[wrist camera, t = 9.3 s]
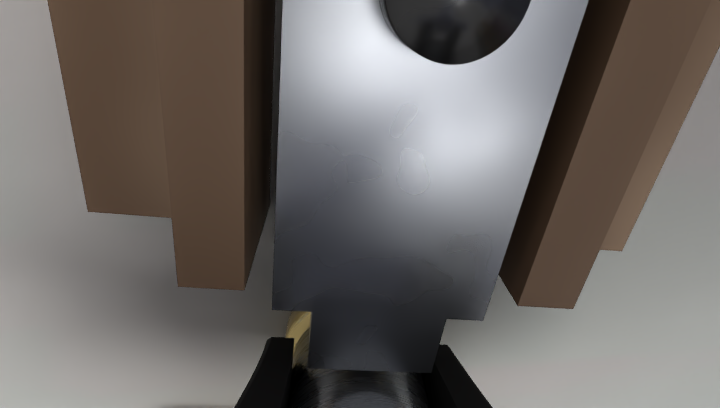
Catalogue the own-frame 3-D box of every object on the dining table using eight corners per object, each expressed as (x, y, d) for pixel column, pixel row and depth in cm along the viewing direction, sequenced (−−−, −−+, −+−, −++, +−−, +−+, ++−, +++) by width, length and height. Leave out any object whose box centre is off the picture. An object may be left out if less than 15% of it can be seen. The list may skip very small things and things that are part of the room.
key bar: (537, -111, 8) (708, -200, 4) (435, 290, 12) (479, 413, 8) (305, -150, 7) (281, -291, 4) (284, 281, 12) (263, 408, 8)
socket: (748, -107, 8) (997, -169, 5) (599, 232, 12) (696, 315, 9) (38, -238, 7) (-204, -434, 4) (108, 193, 10) (13, 277, 7)
